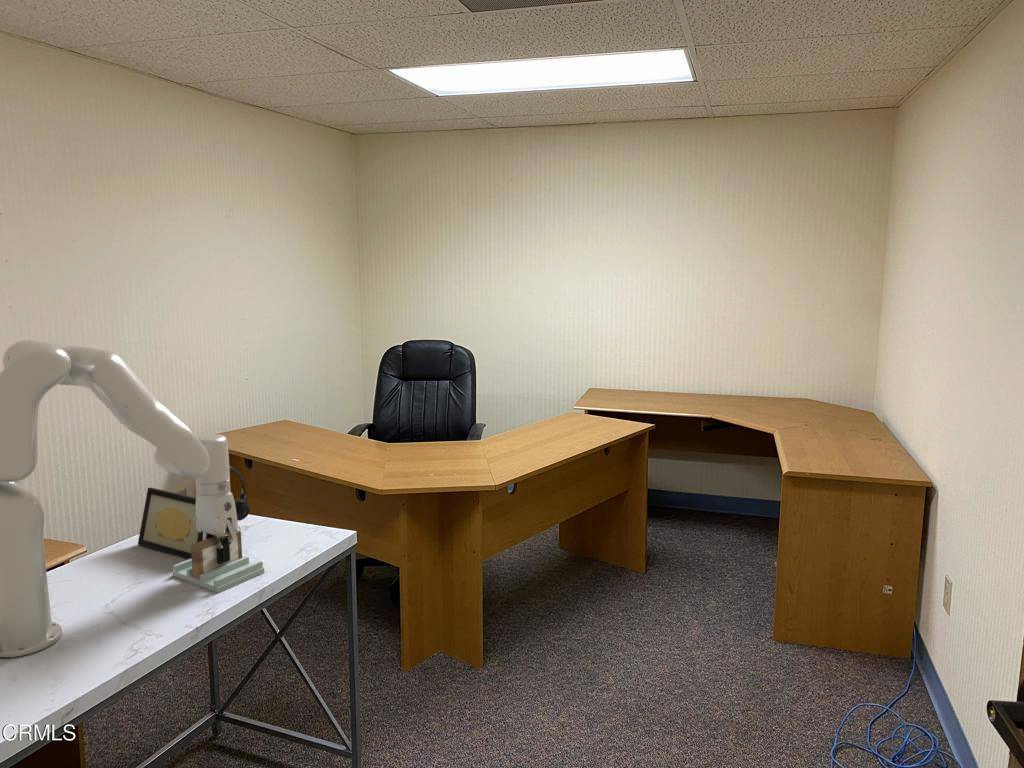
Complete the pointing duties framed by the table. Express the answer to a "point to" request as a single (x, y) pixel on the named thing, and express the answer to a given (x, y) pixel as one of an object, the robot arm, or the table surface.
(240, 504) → the headphones
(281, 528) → the table surface
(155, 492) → the picture frame
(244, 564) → the display rail
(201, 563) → the long brown rectangular block
